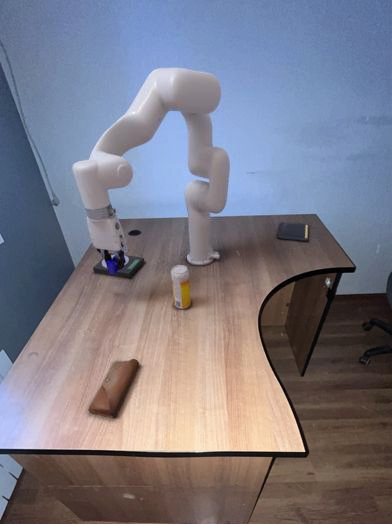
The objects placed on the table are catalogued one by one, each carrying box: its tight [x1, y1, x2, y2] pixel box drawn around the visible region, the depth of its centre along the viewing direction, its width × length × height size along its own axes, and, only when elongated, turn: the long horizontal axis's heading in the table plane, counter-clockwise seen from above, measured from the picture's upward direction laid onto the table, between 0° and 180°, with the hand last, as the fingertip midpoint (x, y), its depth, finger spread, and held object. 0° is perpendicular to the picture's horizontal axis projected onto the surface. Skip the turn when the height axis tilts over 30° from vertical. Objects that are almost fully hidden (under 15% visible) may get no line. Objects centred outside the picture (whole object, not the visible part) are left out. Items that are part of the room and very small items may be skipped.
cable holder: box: [106, 252, 126, 274], centre depth 90 cm, size 8×4×4 cm, turn 162°
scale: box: [92, 252, 146, 279], centre depth 119 cm, size 18×14×3 cm
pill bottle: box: [170, 264, 191, 310], centre depth 94 cm, size 6×6×15 cm
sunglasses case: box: [87, 358, 140, 419], centre depth 74 cm, size 18×7×7 cm
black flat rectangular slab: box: [277, 221, 310, 243], centre depth 138 cm, size 20×2×15 cm
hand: (115, 266), depth 92 cm, fingers closed on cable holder, 3 cm apart
